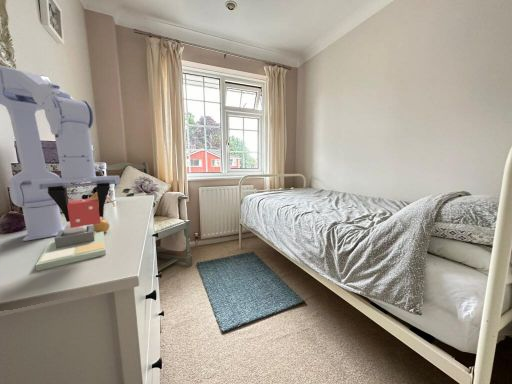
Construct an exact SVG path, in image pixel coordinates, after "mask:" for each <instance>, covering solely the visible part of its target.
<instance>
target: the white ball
mask: <svg viewBox="0 0 512 384" xmlns="http://www.w3.org/2000/svg"><path fill="white" fill-rule="evenodd" d="M86 226H87V225H85V226H79V227H73V228H71V226H70V222H68V223H67V224H66V227H65V228H64V236H67V235H73V234H78V233H84V232H87V227H86Z"/></svg>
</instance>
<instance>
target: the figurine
mask: <svg viewBox="0 0 512 384" xmlns="http://www.w3.org/2000/svg"><path fill="white" fill-rule="evenodd" d="M93 198H97V199H98V195H97V191H96V192H94V194H93V195H91V196H89V197H87V199H93ZM106 200H109V202H110V203H111V204H112V206H113V207H116V204H115V203H114V201H113V200H112V198H110V197H108V196H107V197H106ZM98 206H99V202H98ZM104 211H105V208H104V209H103V217H101V218H100V223H98V224H92V225H94V231H95V233H97V232H103V231H104V233H106V232H107V231H109V229H110V223H109V221H107V220H105V217H104V214H105V212H104Z"/></svg>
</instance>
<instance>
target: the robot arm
mask: <svg viewBox="0 0 512 384" xmlns="http://www.w3.org/2000/svg"><path fill="white" fill-rule="evenodd" d="M0 105H2V106H4V107H5V108H6V111H7V112H8V114H9V115H8V116H9V118H10V123H11V126H12V131H13V136H14V141H15V144H16V148H17V153H18V154H17V155H18V159H19V163H20V168H21V170H20V171H19V172H18V173H16V174H13V176H11V177H10V179H9V180H8V184H9V196H10V199H11V202H12V204H13V205H15V206H17V207H20V208H22V211H23V212H22V214H23V217H24V219H23V220H24V223H25V224H24V225H25V229H26V235H25V236H24V237H23V238H22V241H23V242H26V241H27V242H28V241H31V240H32V241H34V240H40V239H45V238H51V237H56V235H57V233H58V232H59V231H60V230H64V228H65V227H66V225H67V224H66V225H65V224H64V225H63V222H62V217H61V212H62V213H63V215H64V216H63V217H65V220H66V222H67V223H70V220H69V214H68V208H67V204H68V202H69V197H68V188H75V187H91V186H92V187H93V186H95V187H96V192H97V195H98V202H99V215H100V218H102V217H103V216H104V214H103V209H104V210H105V203H106V200H107V199H106V197H108V193H109V192H110V188H111V185H121V178H120V175H101V176H100V175H99V176H98V175H96V174H97V173H96V167H95V160H94V159H95V158H94V153H93V146H92V138H91V133H90V131H91V130H90V129H91V128H92V126H93V124H94V119H95V117H94V111H93V108H92V106H91V105H90V103H89V102H88V101H87V100H76V99H74V98H73V97H72V96H71V95H70V93H68V92H66V91H64V90H62V89H61V86H60V85H59V84H57V83H54V82H53V83H52V82H51V80H50V79H49V77H47V76H46V75H44V74H43V75H42V74H41V75H40V74H37V73H32V72H28V71H24V70H21V69H16V68H13V67H8V66H5V65H0ZM42 110H43V111H44V114H45V117H46V120H47V122H48V124H49V127H50V132H51V134H52V135H54V138H55V145H56V151H57V156H58V163H59V169H60V173H61V174H60V176H61V177H60V176H59V175H58V174H56V173H54V172H51V171H50V170H47V166H46V161H45V155H44V151H43V146H42V140H41V138H40V137H41V136H40V132H39V126H38V121H37V118H36V114H37V113H36V112H37V111H42ZM27 181H28V182H27ZM90 182H91V183H90ZM74 183H75V184H74ZM60 210H61V211H60Z"/></svg>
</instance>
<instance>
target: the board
mask: <svg viewBox="0 0 512 384" xmlns="http://www.w3.org/2000/svg"><path fill="white" fill-rule="evenodd" d="M105 238H106V237H105V232H104V231H103V232H97V233H96V232H95V241H92V242H87V243H82V244H77V245H72V246H67V247H62V248H57V249H56V244H55V239H53V240H50V241H49V242H48V244H47V246H46V247H45V249H44V250H43V252H42V254H41V256H40V257H39V259H38V261H37V262H36V264H35V268H36V272H38V271H42V270H47V269H50V268H54V267H55V268H56V267H59V266H63V265H67V264H72V263H76V262H80V261H81V262H82V261H85V260H89V259H94V258H96V257H97V258H98V257H101V256H106V255H107V253H106V241H105Z"/></svg>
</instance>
